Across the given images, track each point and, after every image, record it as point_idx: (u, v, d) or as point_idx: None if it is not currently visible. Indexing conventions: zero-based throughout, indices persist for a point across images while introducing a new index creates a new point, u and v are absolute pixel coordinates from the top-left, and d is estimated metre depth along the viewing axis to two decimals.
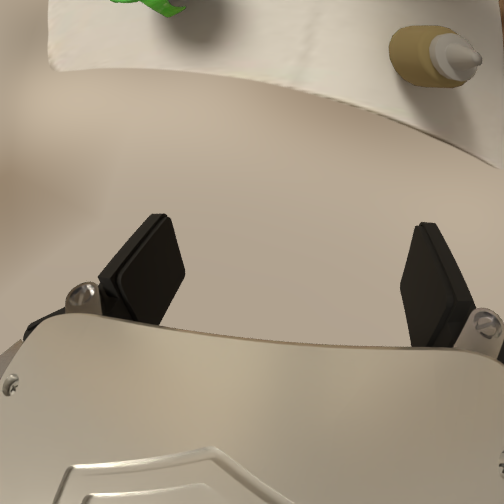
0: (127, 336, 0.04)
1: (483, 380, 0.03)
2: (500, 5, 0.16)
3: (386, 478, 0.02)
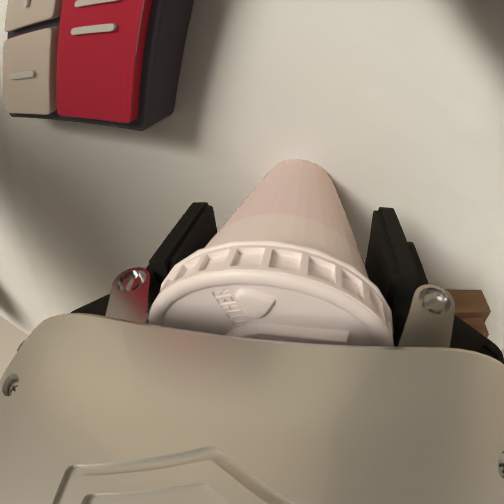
0: (127, 336, 0.04)
1: (483, 380, 0.03)
2: None
3: (386, 478, 0.02)
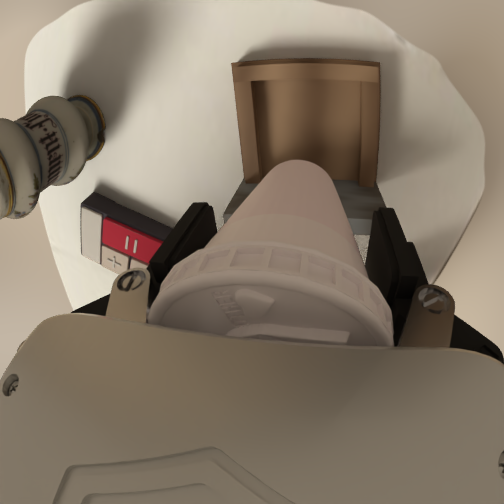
0: (127, 336, 0.04)
1: (483, 380, 0.03)
2: None
3: (386, 478, 0.02)
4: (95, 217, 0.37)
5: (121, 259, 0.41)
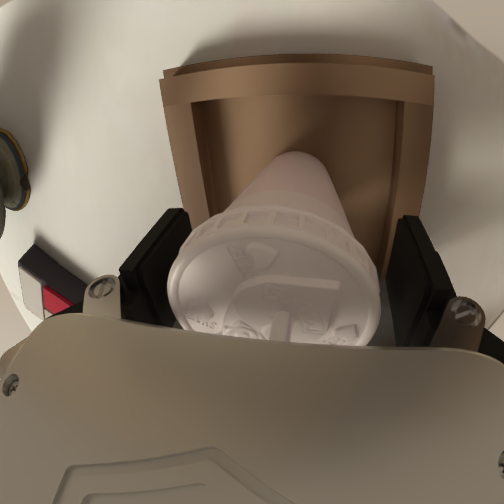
0: (127, 336, 0.04)
1: (483, 380, 0.03)
2: None
3: (386, 478, 0.02)
4: (34, 282, 0.26)
5: None
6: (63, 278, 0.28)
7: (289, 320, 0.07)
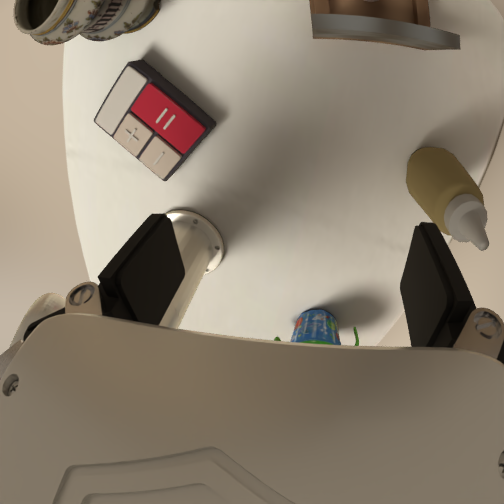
0: (127, 336, 0.04)
1: (483, 380, 0.03)
2: (331, 38, 0.26)
3: (386, 478, 0.02)
4: (138, 80, 0.30)
5: (142, 134, 0.35)
6: (167, 84, 0.32)
7: None
